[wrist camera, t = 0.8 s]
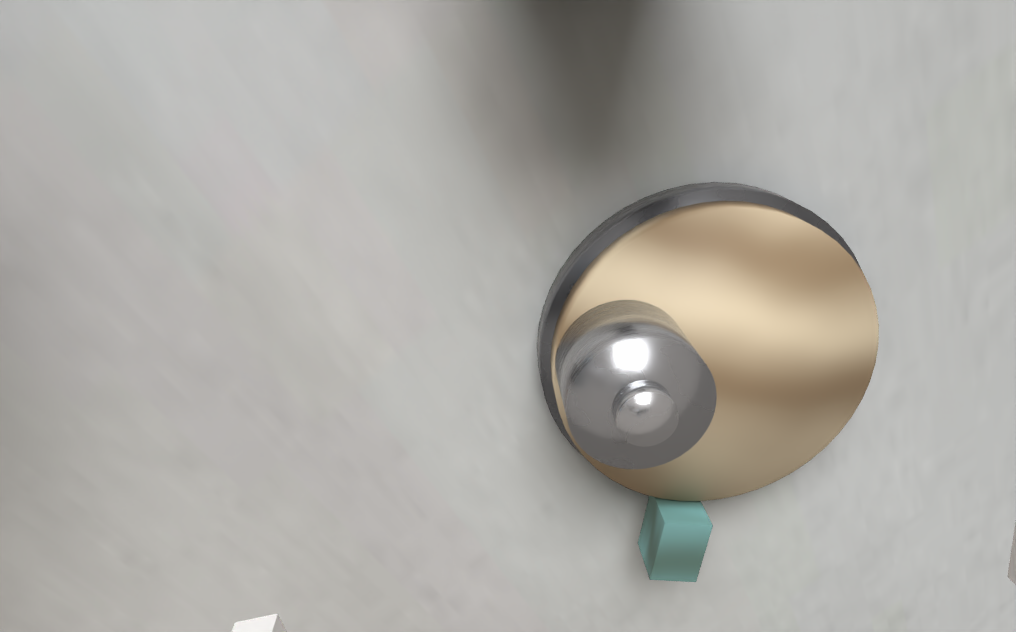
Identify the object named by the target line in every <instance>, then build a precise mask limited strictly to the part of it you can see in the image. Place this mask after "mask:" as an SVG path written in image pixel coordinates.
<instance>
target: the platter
mask: <svg viewBox="0 0 1016 632" xmlns="http://www.w3.org/2000/svg"><path fill="white" fill-rule="evenodd" d="M616 300H637V301H643V302H646V303H649V304H652V305H654V306H656V307H658V308H660V309H662V310H663V311H665V312H666V313H667V314H668V315H670V316H671V317H672V318H673V320H674V321H675V322H676V323H677V325H678V326H679V327H680V329H681V330H682V331H683V333H684V334H685V336H686V337H687V338H688V340H689V341H690V343H691V344H692V345H693V347H694V348H695V349H696V351H697V352H698V354H699V355H700V356H701V358H702V359H703V361H704V362H705V363H706V365H707V366H708V368H709V370H710V371H711V373H712V376H713V378H714V381H715V385H716V393H717V400H716V408H715V413H714V416H713V418H712V421H711V423H710V425H709V427H708V429H707V430H706V432H705V433H704V435H703V436H702V437H701V439H700V440H699V441H698V442H697V443H696V444H695V445H694V446H693V447H692V448H691V449H690V450H688V451H687V452H685V453H684V454H683V455H681V456H679V457H678V458H676V459H674V460H672V461H670V462H667V463H665V464H662V465H659V466H656V467H651V468H646V469H622V468H616V467H612V466H609V465H606V464H604V463H601V462H599V461H597V460H595V459H594V458H592V457H591V456H589V455H588V454H587V453H586V452H585V451H584V450H583V449H582V448H581V447H580V446H579V445H578V444H577V442H576V441H575V439H574V437H573V436H572V434H571V431H570V428H569V425H568V421H567V417H566V413H565V409H564V405H563V401H562V397H561V393H560V389H559V385H558V381H557V376H556V371H555V358H556V352H557V348H558V346H559V343H560V340H561V339H562V337H563V335H564V333H565V332H566V330H567V329H568V328H569V326H570V325H571V324H572V323H573V322H574V321H575V320H576V319H577V318H578V317H580V316H581V315H582V314H584V313H585V312H587V311H588V310H590V309H592V308H594V307H596V306H598V305H601V304H604V303H607V302H611V301H616ZM878 334H879V324H878V317H877V310H876V305H875V301H874V298H873V295H872V291H871V288H870V286H869V284H868V282H867V280H866V278H865V276H864V274H863V272H862V270H861V269H860V268H859V266H858V265H857V263H856V262H855V260H854V259H853V258H852V256H851V255H850V254H849V253H848V252H847V251H846V250H845V249H844V248H843V247H842V246H841V245H840V244H839V243H838V242H837V241H835V240H834V239H833V238H831V237H830V236H829V235H827V234H826V233H824V232H823V231H822V230H820V229H818V228H816V227H814V226H813V225H811V224H809V223H807V222H805V221H803V220H801V219H799V218H797V217H795V216H793V215H791V214H790V213H788V212H785V211H782V210H779V209H776V208H773V207H770V206H767V205H762V204H757V203H751V202H746V201H713V202H702V203H697V204H693V205H688V206H684V207H679V208H676V209H673V210H671V211H668V212H665V213H662V214H659V215H657V216H655V217H653V218H651V219H649V220H647V221H645V222H643V223H641V224H639V225H637V226H635V227H634V228H632V229H631V230H629V231H628V232H626V233H625V234H623V235H621V236H620V237H618V238H617V239H616V240H615V241H614V242H612V243H611V244H610V245H609V246H608V247H606V248H605V249H604V250H603V251H602V252H601V253H600V254H599V255H598V256H597V257H596V258H595V259H594V260H593V261H592V262H591V263H590V264H589V266H588V267H587V268H586V269H585V270H584V272H583V273H582V274H581V276H580V277H579V279H578V280H577V281H576V283H575V284H574V286H573V287H572V289H571V291H570V293H569V295H568V297H567V298H566V300H565V302H564V304H563V307H562V309H561V312H560V315H559V317H558V320H557V322H556V326H555V331H554V335H553V339H552V348H551V359H550V361H551V378H552V383H553V388H554V392H555V397H556V401H557V406H558V410H559V413H560V416H561V418H562V421H563V424H564V426H565V429H566V431H567V432H568V434H569V436H570V438H571V439H572V441H573V443H574V444H575V446H576V447H577V448H578V450H579V451H580V452H581V453H582V455H583V456H584V457H585V458H586V459H587V460H588V461H589V462H590V463H591V464H592V465H593V466H594V467H595V468H596V469H597V470H599V471H600V472H602V473H603V474H604V475H606V476H607V477H609V478H610V479H611V480H613V481H615V482H617V483H619V484H621V485H623V486H625V487H626V488H629V489H631V490H634V491H637V492H639V493H642V494H645V495H649V500H648V504H647V508H646V512H645V516H644V520H643V524H642V528H641V532H640V536H639V540H638V545H639V548H640V551H641V554H642V557H643V560H644V563H645V566H646V569H647V572H648V575H649V578H650V580H666V581H685V582H696V580H697V577H698V574H699V570H700V567H701V563H702V560H703V557H704V553H705V550H706V547H707V543H708V540H709V537H710V533H711V530H712V527H713V525H712V523H711V521H710V519H709V517H708V515H707V513H706V511H705V509H704V507H703V505H702V503H701V501H705V500H715V499H722V498H727V497H732V496H737V495H741V494H744V493H747V492H750V491H753V490H757V489H759V488H761V487H764V486H766V485H769V484H771V483H773V482H776V481H777V480H779V479H781V478H783V477H785V476H787V475H788V474H790V473H792V472H794V471H795V470H797V469H798V468H800V467H801V466H803V465H804V464H805V463H807V462H808V461H810V460H811V459H812V458H813V457H815V456H816V455H817V454H818V453H819V452H820V451H822V450H823V449H824V448H825V447H826V446H827V445H828V444H829V443H830V442H831V441H832V440H833V439H834V438H835V437H836V436H837V435H838V434H839V432H840V431H841V430H842V429H843V427H844V426H845V425H846V423H847V422H848V421H849V419H850V418H851V417H852V415H853V413H854V412H855V410H856V408H857V407H858V405H859V403H860V402H861V400H862V398H863V396H864V393H865V391H866V389H867V387H868V385H869V382H870V379H871V376H872V373H873V369H874V366H875V362H876V356H877V350H878Z"/></svg>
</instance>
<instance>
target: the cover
mask: <svg viewBox="0 0 1016 632" xmlns="http://www.w3.org/2000/svg"><path fill="white" fill-rule="evenodd" d="M555 371H556V376H557V381H558V385H559V389H560V393H561V397H562V401H563V405H564V409H565V413H566V417H567V421H568V425H569V428H570V431H571V434H572V436H573V437H574V439H575V441H576V442H577V444H578V445H579V446H580V447H581V448H582V449H583V450H584V451H585V452H586V453H587V454H588V455H589V456H591V457H592V458H594V459H595V460H597V461H599V462H601V463H604V464H606V465H609V466H612V467H616V468H622V469H646V468H651V467H656V466H659V465H662V464H665V463H667V462H670V461H672V460H674V459H676V458H678V457H679V456H681V455H683V454H684V453H685V452H687V451H688V450H690V449H691V448H692V447H693V446H694V445H695V444H696V443H697V442H698V441H699V440H700V439H701V437H702V436H703V435H704V433H705V432H706V430H707V429H708V427H709V425H710V423H711V421H712V418H713V416H714V413H715V408H716V400H717V393H716V385H715V381H714V378H713V376H712V373H711V371H710V370H709V368H708V366H707V365H706V363H705V362H704V361H703V359H702V358H701V356H700V355H699V354H698V352H697V351H696V349H695V348H694V347H693V345H692V344H691V343H690V341H689V340H688V338H687V337H686V336H685V334H684V333H683V331H682V330H681V329H680V327H679V326H678V325H677V323H676V322H675V321H674V320H673V318H672V317H671V316H670V315H668V314H667V313H666V312H665V311H663V310H662V309H660V308H658V307H656V306H654V305H652V304H649V303H646V302H643V301H637V300H616V301H611V302H607V303H604V304H601V305H598V306H596V307H594V308H592V309H590V310H588V311H587V312H585V313H584V314H582V315H581V316H580V317H578V318H577V319H576V320H575V321H574V322H573V323H572V324H571V325H570V326H569V328H568V329H567V330H566V332H565V333H564V335H563V337H562V339H561V340H560V343H559V346H558V348H557V352H556V358H555Z"/></svg>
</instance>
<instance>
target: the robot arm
mask: <svg viewBox="0 0 1016 632" xmlns="http://www.w3.org/2000/svg"><path fill="white" fill-rule="evenodd" d="M1008 578H1009V579H1010V580H1011V581H1012V582H1013V583H1014V584H1015V585H1016V522H1015V529H1014V536H1013V543H1012V549H1011V556H1010V563H1009V570H1008ZM232 632H286V630H285V627H284V625H283V623H282V621H281V619H280V617H279V615H278V614H273V615H268V616H263V617H258V618H254V619H249V620H244V621H239V622H235V624H234V627H233V629H232Z"/></svg>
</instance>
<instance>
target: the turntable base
mask: <svg viewBox="0 0 1016 632" xmlns="http://www.w3.org/2000/svg"><path fill="white" fill-rule="evenodd" d="M713 201H746V202H751V203H757V204H762V205H767V206H770V207H773V208H776V209H779V210H782V211H785V212H788V213H790V214H791V215H793V216H795V217H797V218H799V219H801V220H803V221H805V222H807V223H809V224H811V225H813V226H814V227H816V228H818V229H820V230H822V231H823V232H824V233H826V234H827V235H829V236H830V237H831V238H833V239H834V240H835V241H837V242H838V243H839V244H840V245H841V246H842V247H843V248H844V249H845V250H846V251H847V252H848V253H849V254H850V255H851V256H852V258H853V259H854V260H855V262H856V263H857V265H858V266H859V264H858V262H857V259H856V257H855V255H854V254H853V252H852V251H851V249H850V248H849V247H848V245H847V244H846V242H845V241H844V239H843V238H842V237H841V236H840V235H839V234H838V233H837V232H836V231H835V230H834V229H833V228H832V227H831V226H830V225H829V224H828V223H827V222H825V221H824V220H823V219H821V218H820V217H819V216H817V215H816V214H814V213H813V212H812V211H810V210H808V209H806V208H804V207H802V206H800V205H798V204H796V203H794V202H792V201H790V200H788V199H786V198H784V197H782V196H780V195H778V194H776V193H773V192H770V191H767V190H764V189H761V188H758V187H753V186H748V185H742V184H737V183H718V182H711V183H700V184H690V185H685V186H681V187H676V188H672V189H667V190H664V191H662V192H659V193H656V194H653V195H650V196H648V197H645V198H643V199H641V200H639V201H637V202H635V203H633V204H631V205H629V206H627V207H625V208H623V209H622V210H620V211H619V212H617V213H616V214H614V215H613V216H611V217H610V218H608V219H607V220H605V221H604V222H603V223H602V224H601V225H600V226H598V227H597V228H596V229H595V230H594V231H593V232H591V233H590V234H589V235H588V236H587V237H586V238H585V239H584V240H583V241H582V242H581V244H580V245H579V246H578V247H577V248H576V249H575V250H574V251H573V252H572V254H571V255H570V257H569V258H568V259H567V261H566V262H565V264H564V265H563V267H562V268H561V269H560V271H559V273H558V275H557V277H556V279H555V280H554V282H553V284H552V286H551V288H550V290H549V293H548V296H547V298H546V301H545V304H544V307H543V310H542V315H541V319H540V324H539V329H538V342H537V352H538V366H539V371H540V376H541V381H542V385H543V390H544V394H545V399H546V401H547V404H548V406H549V409H550V412H551V414H552V416H553V418H554V420H555V422H556V423H557V425H558V427H559V429H560V430H561V432H562V433H563V434H564V436H565V437H566V438H567V440H568V441H569V442H570V443H571V445H572V446H573V447H574V448H575V449H576V450H577V451H579V450H578V448H577V447H576V446H575V444H574V443H573V441H572V439H571V438H570V436H569V434H568V432H567V431H566V429H565V426H564V424H563V421H562V418H561V416H560V413H559V410H558V406H557V401H556V397H555V392H554V388H553V383H552V378H551V361H550V359H551V348H552V339H553V335H554V331H555V326H556V322H557V320H558V317H559V315H560V312H561V309H562V307H563V304H564V302H565V300H566V298H567V297H568V295H569V293H570V291H571V289H572V287H573V286H574V284H575V283H576V281H577V280H578V279H579V277H580V276H581V274H582V273H583V272H584V270H585V269H586V268H587V267H588V266H589V264H590V263H591V262H592V261H593V260H594V259H595V258H596V257H597V256H598V255H599V254H600V253H601V252H602V251H603V250H604V249H605V248H606V247H608V246H609V245H610V244H611V243H612V242H614V241H615V240H616V239H617V238H618V237H620V236H621V235H623V234H625V233H626V232H628V231H629V230H631V229H632V228H634V227H635V226H637V225H639V224H641V223H643V222H645V221H647V220H649V219H651V218H653V217H655V216H657V215H659V214H662V213H665V212H668V211H671V210H673V209H676V208H679V207H684V206H688V205H693V204H697V203H702V202H713ZM859 268H860V266H859ZM860 269H861V268H860ZM579 452H580V451H579ZM580 453H581V452H580ZM581 454H582V453H581Z"/></svg>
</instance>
